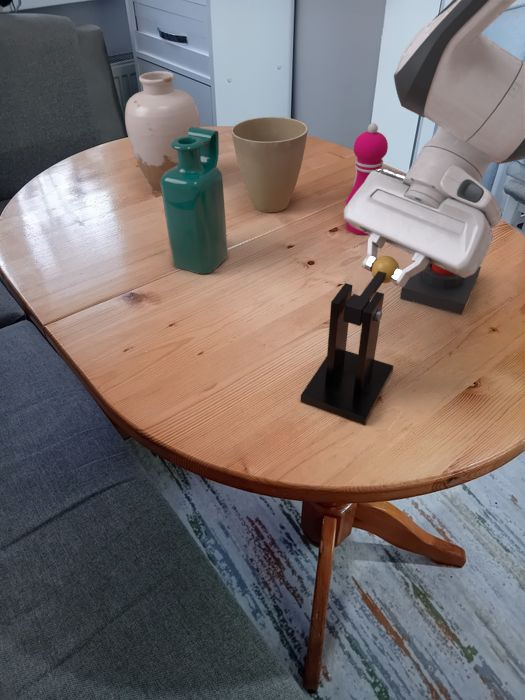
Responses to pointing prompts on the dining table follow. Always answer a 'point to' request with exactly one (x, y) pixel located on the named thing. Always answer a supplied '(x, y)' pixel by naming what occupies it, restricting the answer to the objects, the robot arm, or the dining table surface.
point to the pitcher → (195, 203)
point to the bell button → (441, 270)
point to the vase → (158, 123)
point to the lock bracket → (350, 365)
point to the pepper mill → (367, 160)
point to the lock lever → (369, 289)
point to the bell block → (440, 290)
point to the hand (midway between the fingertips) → (381, 276)
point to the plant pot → (270, 159)
